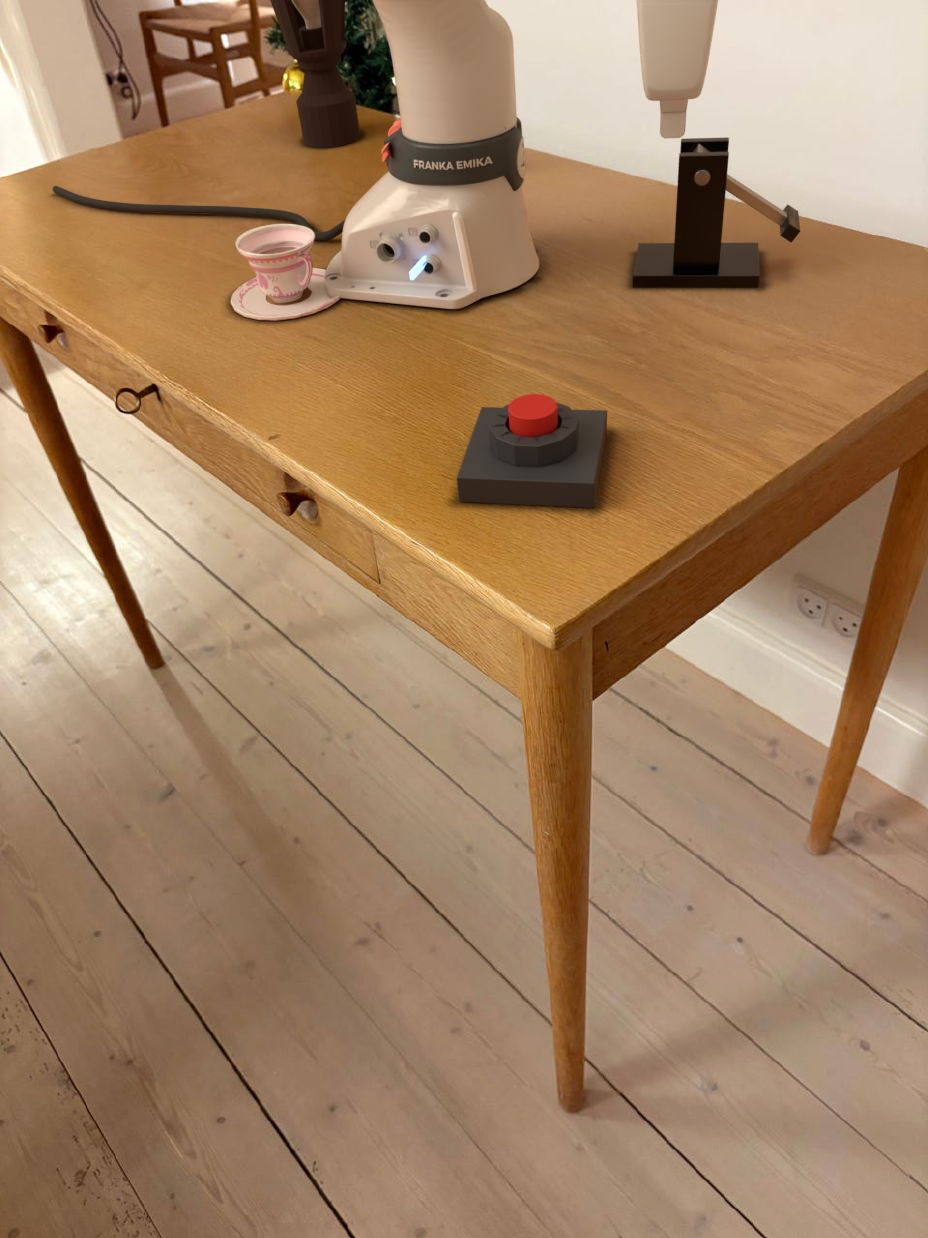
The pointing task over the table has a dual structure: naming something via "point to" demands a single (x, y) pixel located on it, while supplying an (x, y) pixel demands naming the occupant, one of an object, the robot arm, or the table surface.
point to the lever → (764, 206)
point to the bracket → (699, 230)
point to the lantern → (319, 69)
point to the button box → (534, 461)
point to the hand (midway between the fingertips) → (672, 131)
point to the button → (533, 415)
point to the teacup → (280, 273)
